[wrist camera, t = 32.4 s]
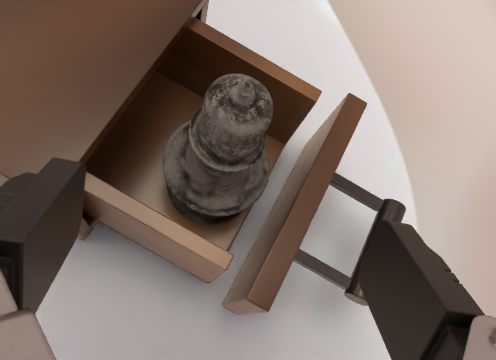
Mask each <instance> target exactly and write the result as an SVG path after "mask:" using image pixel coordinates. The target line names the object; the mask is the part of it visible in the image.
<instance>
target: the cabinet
mask: <svg viewBox="0 0 496 360" xmlns="http://www.w3.org/2000/svg"><path fill="white" fill-rule="evenodd" d="M208 3H209V0H0V187H1V186H2V185H3V184H4V183H5V182H6V181H7V180H8V179H11V178H13V177H16V176H18V175H20V174H23V173H25V172H29V173H34V174H38V172H39V171H40V170H41V169H42V168H43V167H44V166H45V165H46V164H47V163H48V162H49V161H50V159H52V158H53V157H55V158H60V159H66V160H71V161H76V162H82V163H86V162H87V160H88V159H89V158H90V156H91V155H92V154H93V152H94V151H95V150H96V148H97V147H98V146H99V144H100V143H101V142H102V140H103V139H104V138H105V136H106V135H107V134H108V132H109V131H110V130H111V128H112V127H113V126H114V124H115V123H116V122H117V120H118V119H119V118H120V116H121V115H122V114H123V112H124V111H125V110H126V108H127V107H128V106H129V104H130V103H131V102H132V100H133V99H134V98H135V96H136V95H137V94H138V92H139V91H140V90H141V88H142V87H143V86H144V84H145V83H146V82H147V80H148V79H149V78H150V76H151V75H152V74H153V72H154V71H155V70H156V68H157V67H158V66H159V64H160V63H161V62H162V60H163V59H164V58H165V56H166V55H167V54H168V52H169V51H170V50H171V48H172V47H173V46H174V45H175V43H176V42H177V41H178V39H179V38H180V37H181V35H182V34H183V33H184V31H185V30H186V29H187V27H188V26H189V25H190V23H191V22H192V21H193V19H194V18H197V19H198V20H200V21H202V22H204V23H205V22H206V16H207V9H208ZM97 222H98V220H96V219H94V218H92V217H91V216H89V215H87V214H85V213H84V212H82V221H81V226H80V230H79V233H78V236H77V237H78V238H80V239H81V240H85V239H86V237H87V236H88V235H89V233H90V232H91V230H92V229H93V227H94V226H95V225H96V223H97Z"/></svg>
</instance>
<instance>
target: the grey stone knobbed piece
mask: <svg viewBox="0 0 496 360" xmlns="http://www.w3.org/2000/svg"><path fill="white" fill-rule="evenodd" d="M272 116H273V101H272V99H271V96H270V94H269V92H268V91H267V89H266V88H265V87H264V86H263V85H262V84H261V83H260V82H259V81H257V80H255V79H254V78H252V77H250V76H246V75H243V74H228V75H224V76H222V77H220V78H218V79H216V80H215V81H214V82H213V83H212V84H211V85H210V87H209V88H208V90H207V92H206V93H205V97H204V101H203V106H202V107H201V108H200V109H199V110H198V111H197V112H196V113H195V115H194V116H193V118H192V120H190V121H188V122H186V123H184V124H183V125H181V126H180V127H179V128H178V129H177V130H176V131H175V132H174V133H173V134H172V136H171V137H170V139H169V141H168V142H167V144H166V147H165V150H164V154H163V174H164V177H165V180H166V183H167V191H168V194H169V197H170V200H171V202H172V203H173V205H174V207H175V208H176V210H177V211H179V212H180V213H181V214H182V215H183V216H184V217H185V218H187V219H189V220H191V221H193V222H195V223H200V224H204V225H218V224H221V223H225V222H228V221H230V220H231V219H233V218H234V217H236V216H238V215H239V213H240V212H242V211H243V210H245V209H247V208H248V207H250V206H251V205H253V204H254V202H255V201H256V200H257V199H258V198H259V197H260V196H261V195H262V193H263V191H264V189H265V187H266V184H267V182H268V176H269V170H270V169H269V159H268V155H267V152H266V150H265V144H266V134H265V132H266V130H267V128H268V126H269V125H270V123H271V121H272Z"/></svg>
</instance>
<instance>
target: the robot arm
mask: <svg viewBox="0 0 496 360" xmlns="http://www.w3.org/2000/svg"><path fill="white" fill-rule="evenodd" d="M85 176H86V166H85V163H82V162H76V161H71V160H66V159H60V158H55V157H53V158H52V159H50V161H49V162H48V163H47V164H46V165H45V166H44V167H43V168H42V169H41V170H40V171H39V172H38V174H34V173H29V172H25V173H23V174H20V175H18V176H16V177H13V178H11V179H8V180H7V181H6V182H5V183H4V184H3V185H2V186H1V187H0V360H56V358H55V356H54V354H53V352H52V349H51V347H50V345H49V343H48V341H47V339H46V337H45V335H44V333H43V331H42V329H41V326H40V324H39V322H38V320H37V318H36V316H35V313H36V311H37V309H38V308H39V306H40V304H41V302H42V300H43V299H44V297H45V295H46V293H47V291H48V289H49V288H50V286H51V284H52V282H53V280H54V279H55V277H56V275H57V273H58V271H59V270H60V268H61V266H62V264H63V262H64V260H65V259H66V257H67V255H68V253H69V251H70V250H71V248H72V246H73V244H74V242H75V240H76V238H77V236H78V233H79V230H80V226H81V221H82V212H83V200H84V188H85ZM359 284H360V288H361V290H362V292H363V295H364V297H365V299H366V302H367V304H368V306H369V308H370V311H371V313H372V315H373V318H374V320H375V322H376V325H377V327H378V329H379V332H380V334H381V336H382V338H383V341H384V343H385V345H386V348H387V350H388V352H389V355H390V357H391V359H392V360H496V318H495V317H492V316H486V315H485V314H484V313H483V312H482V310H481V309H480V308H479V306H478V305H477V304H476V302H475V301H474V300H473V298H472V297H471V296H470V295H469V293H468V292H467V291H466V289H465V288H464V287H463V285H462V284H459V280H458V279H457V278H456V276H455V275H454V274H453V273H451V270H450V268H449V267H448V266H447V264H446V263H445V262H444V261H443V259H442V258H441V257H440V256H439V255H438V254H436V253H435V252H434V251H432V250H431V249H430V248H429V247H428V246H427V245H426V244H425V243H424V241H423V240H422V239H421V237H420V236H419V234H418V233H417V232H416V230H415V229H414V228H413V227H412V226H411V225H409V224H403V223H398V222H393V221H387V220H383V221H381V222H380V223H379V225H378V226H377V228H376V231H375V233H374V235H373V238H372V240H371V242H370V245H369V247H368V249H367V252H366V254H365V256H364V259H363V261H362V263H361V266H360V270H359Z"/></svg>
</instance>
